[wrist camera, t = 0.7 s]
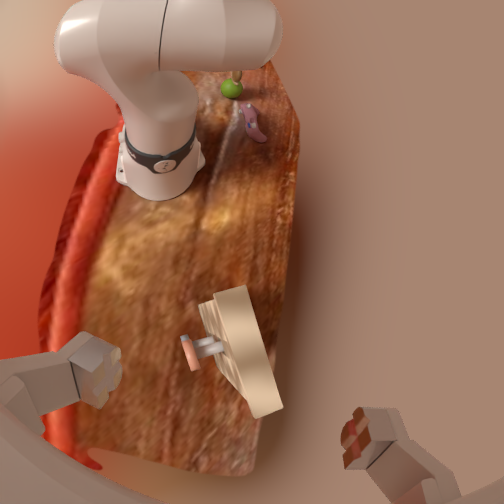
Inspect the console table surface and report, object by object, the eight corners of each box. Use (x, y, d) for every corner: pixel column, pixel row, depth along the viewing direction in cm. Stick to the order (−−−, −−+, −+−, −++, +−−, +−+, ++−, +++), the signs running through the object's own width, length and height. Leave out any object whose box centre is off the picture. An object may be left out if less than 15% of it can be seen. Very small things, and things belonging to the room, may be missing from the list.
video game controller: (241, 116, 62) (235, 100, 55) (259, 112, 61) (254, 95, 54) (249, 148, 60) (243, 132, 53) (268, 143, 60) (264, 127, 53)
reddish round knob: (180, 338, 34) (181, 341, 30) (244, 320, 37) (253, 320, 33) (190, 368, 33) (193, 376, 29) (253, 349, 36) (263, 353, 32)
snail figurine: (235, 85, 62) (248, 53, 51) (241, 102, 61) (255, 69, 50) (216, 86, 60) (226, 52, 49) (221, 102, 59) (232, 68, 48)
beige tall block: (194, 303, 48) (214, 293, 24) (228, 293, 50) (279, 275, 26) (215, 370, 46) (255, 418, 23) (248, 359, 48) (313, 394, 25)
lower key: (179, 333, 41) (180, 336, 37) (232, 318, 44) (238, 319, 40) (187, 359, 41) (189, 364, 37) (239, 343, 44) (246, 346, 40)
